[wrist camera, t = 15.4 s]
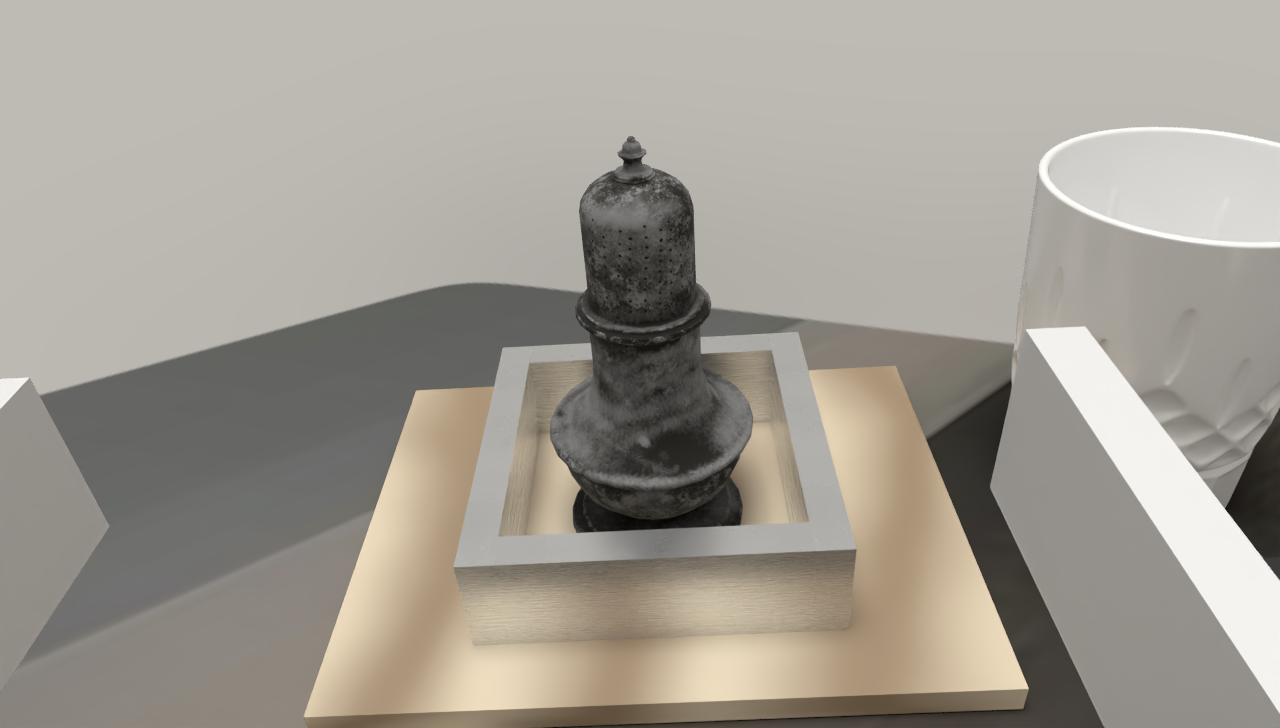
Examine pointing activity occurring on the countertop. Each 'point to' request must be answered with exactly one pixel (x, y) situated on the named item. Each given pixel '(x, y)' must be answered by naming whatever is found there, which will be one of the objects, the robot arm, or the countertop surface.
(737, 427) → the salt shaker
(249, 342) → the countertop surface
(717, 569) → the collar
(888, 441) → the flange board
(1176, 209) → the white cup
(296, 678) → the countertop surface
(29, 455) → the robot arm
